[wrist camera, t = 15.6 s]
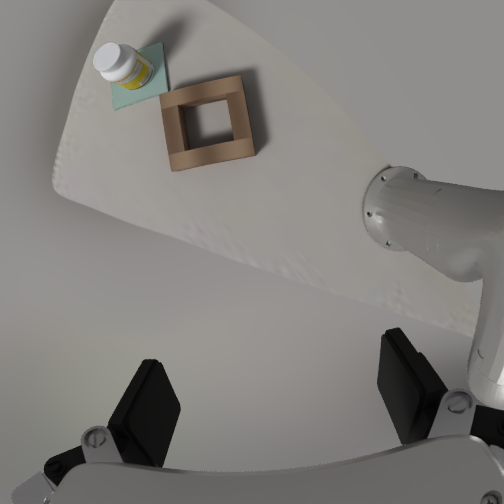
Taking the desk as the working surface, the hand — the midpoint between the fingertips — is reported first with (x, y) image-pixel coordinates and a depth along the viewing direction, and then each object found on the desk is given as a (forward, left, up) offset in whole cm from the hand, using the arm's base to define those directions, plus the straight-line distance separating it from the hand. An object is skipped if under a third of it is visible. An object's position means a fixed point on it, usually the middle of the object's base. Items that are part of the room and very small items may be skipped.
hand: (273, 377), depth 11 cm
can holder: (+6, -15, -30) cm, 34 cm away
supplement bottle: (+15, -26, -30) cm, 43 cm away
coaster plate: (+15, -26, -30) cm, 43 cm away
